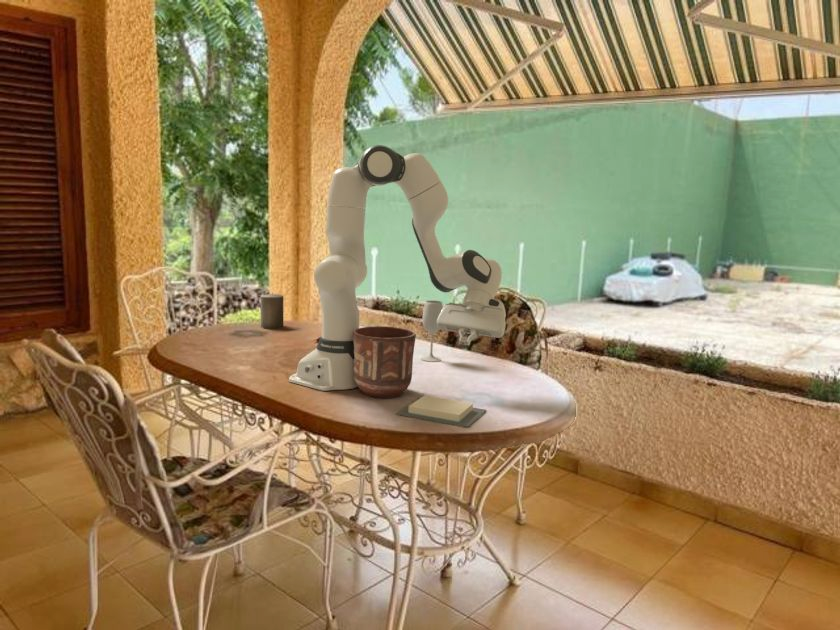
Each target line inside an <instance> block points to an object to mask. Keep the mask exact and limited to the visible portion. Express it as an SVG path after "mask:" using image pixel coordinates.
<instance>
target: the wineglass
mask: <svg viewBox="0 0 840 630" xmlns="http://www.w3.org/2000/svg"><path fill="white" fill-rule="evenodd" d="M423 306H424V307H423V310H422V312H423V313H422V317H421V319H422V320H421V321H422V325H423V327H424V329H425V330H426V331H427V333H429V334H430V335H429V336H430V350H429V355H426V356H422V357H421V358H420V360H421V361H424V362H430V363H436V362H437V363H438V362H441V361H442V358H440V357H438V356H434V355H433V349H434V348H433V345H434V344H433V343H434V336H435V334H436V333H437V332H438V331H440V329H439V327H438V325H437V318H438V316H439V314H440V313H441V311H442V308H443V306H444V305H443V302H442V301H440V300H426V301H424V305H423Z"/></svg>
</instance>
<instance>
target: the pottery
mask: <svg viewBox="0 0 840 630" xmlns="http://www.w3.org/2000/svg"><path fill="white" fill-rule="evenodd" d="M416 338H417V337H416V332H414V331H412V330H410V329H407V328H403V327H396V326H395V327H394V326H380V325H379V326H376V325H375V326H365V327H359V329H356V330H354V332H353V341H354V358H355V359H354V379H355V382H356V384H357V386H358V387H357V388H359V390H360V391H361V392H362V393H363V394H365V395H366V396H369V397H373V398H379V399H381V398H382V399H388V398H396V397H400V396H402V395H403V393H404V392H406V391H407V390H408V388H409V387H410V384H411V382H412V378H413V377H412V376H413V363H414V362H413V361H414V351H415V344H416Z"/></svg>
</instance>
